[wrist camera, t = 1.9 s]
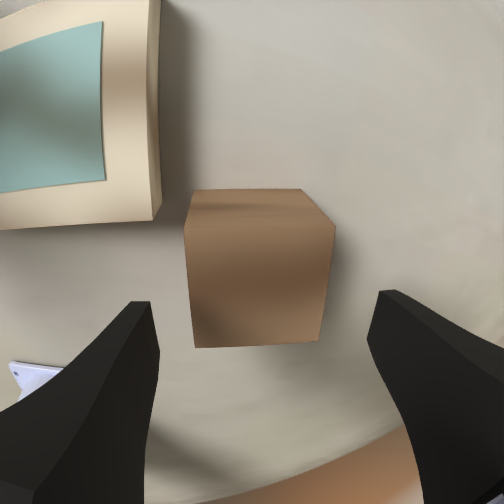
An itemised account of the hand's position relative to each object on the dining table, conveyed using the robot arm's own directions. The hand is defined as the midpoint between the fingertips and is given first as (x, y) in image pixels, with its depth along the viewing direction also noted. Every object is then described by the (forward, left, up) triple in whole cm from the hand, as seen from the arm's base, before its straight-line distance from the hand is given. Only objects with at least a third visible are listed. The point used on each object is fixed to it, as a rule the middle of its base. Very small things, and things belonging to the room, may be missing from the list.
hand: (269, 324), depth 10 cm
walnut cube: (0, 0, -7) cm, 7 cm away
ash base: (+7, +9, -7) cm, 13 cm away
